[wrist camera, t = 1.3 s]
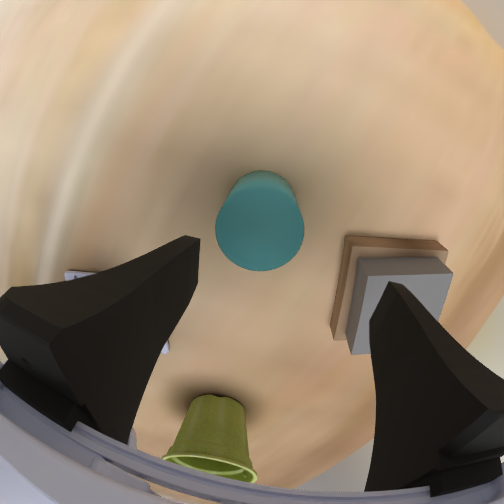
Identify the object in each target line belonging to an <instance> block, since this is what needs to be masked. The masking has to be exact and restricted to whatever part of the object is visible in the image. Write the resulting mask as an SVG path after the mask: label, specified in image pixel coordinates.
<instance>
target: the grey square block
mask: <svg viewBox="0 0 504 504" xmlns="http://www.w3.org/2000/svg"><path fill="white" fill-rule="evenodd" d="M452 277H453V272H452V271H451V270H450V269H449V268H448V267H447V266H446V265H445V264H444V263H443V262H442V261H441V260H440V259H439V258H438V257H381V258H358V260H357V267H356V274H355V281H354V287H353V293H352V299H351V305H350V311H349V316H348V321H347V327H346V332H345V335H346V338H347V342H348V345H349V349H350V352H351V355H359V354H371V351H370V344H369V320H370V318H371V316H372V314H373V312H374V310H375V308H376V306H377V304H378V302H379V300H380V298H381V296H382V294H383V292H384V290H385V288H386V286H387V284H388V281H391V282H396V283H400V284H403V285H404V286H405V287H406V288H407V289H408V290H409V291H411V293H412V294H413V295H414V296H415V297H416V298H417V299H418V300H419V301H420V302H421V303H422V304H423V306H424V307H425V308H426V309H427V310H428V311H429V312H430V313H431V315H432V316H433V317H434V318H435V319H436V320H437V321H438V320H439V317H440V314H441V311H442V308H443V305H444V302H445V299H446V296H447V293H448V290H449V287H450V283H451V280H452Z"/></svg>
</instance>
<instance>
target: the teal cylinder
mask: <svg viewBox="0 0 504 504" xmlns="http://www.w3.org/2000/svg"><path fill="white" fill-rule="evenodd" d="M215 232H216V238H217V242H218V244H219V247H220V248H221V250H222V252H223V253H224V254H225V256H226V257H227V258H228V259H229V260H231V261H232V262H233V263H235V264H236V265H238V266H240V267H242V268H245V269H248V270H253V271H268V270H272V269H276V268H278V267H281V266H282V265H284V264H286V263H287V262H289V261H290V260H291V259H292V258H293V257H294V256H295V255H296V253H297V252H298V250H299V248H300V246H301V244H302V241H303V237H304V223H303V219H302V216H301V213H300V210H299V207H298V204H297V201H296V199H295V196H294V193H293V191H292V188H291V187H290V185H289V184H288V183H287V181H286V180H285V179H283V178H282V177H281V176H279V175H277V174H275V173H273V172H269V171H255V172H251V173H249V174H246V175H245V176H243V177H242V178H240V179H239V180H238V181H237V182H236V184H235V185H234V187H233V188H232V190H231V192H230V194H229V195H228V197H227V199H226V201H225V202H224V204H223V206H222V208H221V210H220V212H219V214H218V216H217V220H216V226H215Z"/></svg>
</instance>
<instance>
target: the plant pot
mask: <svg viewBox="0 0 504 504" xmlns="http://www.w3.org/2000/svg"><path fill="white" fill-rule="evenodd" d="M161 459H163V460H166V461H169V462H172V463H175V464H178V465H181V466H184V467H188V468H191V469H194V470H198V471H201V472H205V473H209V474H213V475H217V476H221V477H225V478H229V479H234V480H239V481H244V482H249V483H254V482H255V481H256V480H257V473H256V472H255V470H253V467H252V462H251V460H250V458H249V451H248V441H247V430H246V417H245V410H244V408H243V406H242V405H241V404H240V403H238V402H237V401H235V400H233V399H231V398H229V397H216V396H214V395H202V396H199V397H197V398H195V399H194V400H193V401H192V402H191V404H190V407H189V409H188V412H187V414H186V416H185V419H184V421H183V423H182V426H181V428H180V430H179V432H178V435H177V437H176V439H175V442H174V444H173V446H172V447H170V448H169V450H168V452H167V454H166V455H164V456H163V457H162V458H161Z"/></svg>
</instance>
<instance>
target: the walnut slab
mask: <svg viewBox="0 0 504 504" xmlns="http://www.w3.org/2000/svg"><path fill="white" fill-rule="evenodd" d="M447 255H448V250H447V249H446V248H445V247H443V246H442V245H441V244H440V243H439V242H438V241H430V240H415V239H399V238H382V237H364V236H345V244H344V250H343V257H342V263H341V269H340V275H339V281H338V287H337V292H336V298H335V303H334V308H333V313H332V318H331V323H330V327H331V331H332V335H333V339H334V340H347V338H346V335H345V332H346V327H347V321H348V316H349V311H350V305H351V299H352V293H353V287H354V281H355V274H356V267H357V260H358V258H381V257H438V258H439V259H440V260H441V261H442V262H443V263H444V264H445V262H446V259H447Z"/></svg>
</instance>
